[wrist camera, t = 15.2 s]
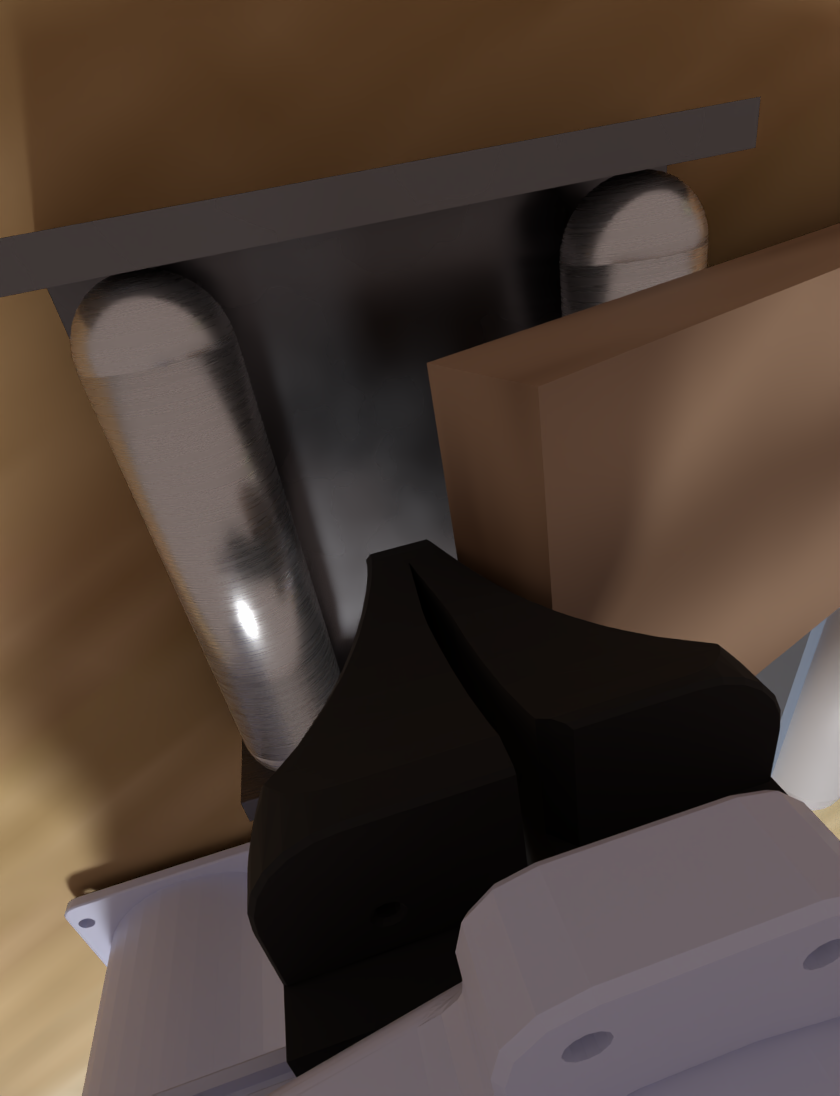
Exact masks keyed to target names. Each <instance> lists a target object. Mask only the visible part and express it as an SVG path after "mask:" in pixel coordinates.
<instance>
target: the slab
mask: <svg viewBox="0 0 840 1096" xmlns="http://www.w3.org/2000/svg"><path fill="white" fill-rule="evenodd" d="M427 369H428V375H429V381H430V388H431V394H432V401H433V407H434V413H435V420H436V426H437V432H438V439H439V445H440V452H441V458H442V464H443V471H444V477H445V483H446V490H447V496H448V502H449V509H450V515H451V522H452V528H453V534H454V541H455V547H456V553H457V560H458V561H459V562H461V563H462V564H464V565H465V566H467V567H468V568H470V569H471V570H473V571H475V572H476V573H478V574H480V575H481V576H483V577H484V578H486V579H488V580H489V581H491V582H493V583H495V584H496V585H498V586H500V587H502V588H504V589H506V590H508V591H510V592H512V593H514V594H516V595H518V596H520V597H522V598H525V599H527V600H529V601H532V602H534V603H537V604H539V605H542V606H544V607H547V608H549V609H552V610H554V611H557V612H560V613H563V614H566V615H569V616H572V617H575V618H579V619H582V620H586V621H589V622H593V623H596V624H600V625H604V626H608V627H612V628H616V629H621V630H625V631H631V632H636V633H641V634H646V635H651V636H657V637H664V638H673V639H681V640H690V641H698V642H707V643H715V644H719V645H720V646H721V647H722V648H724V649H725V650H726V651H727V652H729V653H730V654H731V655H732V656H734V657H735V658H736V659H737V660H738V661H740V662H741V663H742V664H743V665H744V666H745V667H746V668H747V669H748V670H749V671H750V672H751V673H752V674H753V675H755V676H756V675H757V674H758V673H759V672H761V671H762V670H763V669H764V668H766V667H767V666H768V665H769V664H770V663H772V662H773V661H774V660H775V659H777V658H778V657H779V656H780V655H782V654H783V653H784V652H785V651H786V650H788V649H789V648H790V647H791V646H793V645H794V644H795V643H796V642H797V641H799V640H800V639H801V638H802V637H804V636H805V635H806V634H807V633H809V632H810V631H811V630H812V629H813V628H815V627H816V626H817V625H818V624H820V623H821V622H822V621H823V620H825V619H826V618H827V617H828V616H829V615H831V614H832V613H833V612H834V611H836V610H837V609H838V608H839V607H840V223H839V224H836V225H833V226H830V227H827V228H824V229H821V230H818V231H815V232H812V233H809V234H806V235H803V236H800V237H797V238H794V239H791V240H788V241H785V242H783V243H780V244H777V245H774V246H771V247H768V248H765V249H762V250H759V251H756V252H753V253H750V254H747V255H744V256H741V257H738V258H735V259H732V260H729V261H726V262H723V263H721V264H718V265H715V266H712V267H709V268H706V269H703V270H700V271H697V272H694V273H691V274H688V275H685V276H682V277H679V278H676V279H673V280H670V281H667V282H664V283H661V284H658V285H656V286H653V287H650V288H647V289H644V290H641V291H638V292H635V293H632V294H629V295H626V296H623V297H620V298H617V299H614V300H611V301H608V302H605V303H602V304H599V305H596V306H594V307H591V308H588V309H585V310H582V311H579V312H576V313H573V314H570V315H567V316H564V317H561V318H558V319H555V320H552V321H549V322H546V323H543V324H540V325H537V326H534V327H531V328H529V329H526V330H523V331H520V332H517V333H514V334H511V335H508V336H505V337H502V338H499V339H496V340H493V341H490V342H487V343H484V344H481V345H478V346H475V347H472V348H469V349H467V350H464V351H461V352H458V353H455V354H452V355H449V356H446V357H443V358H440V359H437V360H434V361H431V362H428V363H427Z"/></svg>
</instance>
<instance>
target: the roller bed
mask: <svg viewBox="0 0 840 1096" xmlns="http://www.w3.org/2000/svg"><path fill="white" fill-rule="evenodd" d="M759 107H760V97H756V98H750V99H745V100H740V101H734V102H729V103H724V104H718V105H713V106H708V107H702V108H697V109H691V110H686V111H681V112H675V113H670V114H665V115H659V116H654V117H649V118H643V119H638V120H633V121H627V122H622V123H616V124H611V125H606V126H600V127H595V128H590V129H584V130H579V131H574V132H568V133H563V134H557V135H552V136H547V137H541V138H536V139H531V140H525V141H520V142H515V143H509V144H504V145H499V146H493V147H488V148H482V149H477V150H472V151H466V152H461V153H456V154H450V155H445V156H440V157H434V158H429V159H423V160H418V161H413V162H407V163H402V164H397V165H391V166H386V167H381V168H375V169H370V170H365V171H359V172H354V173H348V174H343V175H338V176H332V177H327V178H322V179H316V180H311V181H306V182H300V183H295V184H289V185H284V186H279V187H273V188H268V189H263V190H257V191H252V192H247V193H241V194H236V195H231V196H225V197H220V198H214V199H209V200H204V201H198V202H193V203H188V204H182V205H177V206H172V207H166V208H161V209H155V210H150V211H145V212H139V213H134V214H129V215H123V216H118V217H113V218H107V219H102V220H97V221H91V222H86V223H80V224H75V225H70V226H64V227H59V228H54V229H48V230H43V231H38V232H32V233H27V234H21V235H16V236H11V237H5V238H0V297H4V296H9V295H14V294H19V293H24V292H29V291H34V290H39V289H44V288H47V289H48V291H49V294H50V296H51V298H52V300H53V303H54V305H55V307H56V309H57V312H58V314H59V316H60V318H61V321H62V323H63V325H64V327H65V330H66V332H67V334H68V336H69V339H70V344H71V352H72V358H73V361H74V364H75V367H76V370H77V373H78V376H79V378H80V381H81V383H82V385H83V387H84V389H85V392H86V394H87V396H88V398H89V401H90V403H91V405H92V407H93V409H94V412H95V414H96V416H97V418H98V420H99V423H100V425H101V427H102V429H103V431H104V434H105V436H106V438H107V440H108V443H109V445H110V447H111V449H112V451H113V454H114V456H115V458H116V460H117V462H118V465H119V467H120V469H121V471H122V473H123V476H124V478H125V480H126V482H127V485H128V487H129V489H130V491H131V493H132V496H133V498H134V500H135V502H136V504H137V507H138V509H139V511H140V513H141V515H142V518H143V520H144V522H145V524H146V527H147V529H148V531H149V533H150V535H151V538H152V540H153V542H154V544H155V546H156V549H157V551H158V553H159V555H160V557H161V560H162V562H163V564H164V566H165V569H166V571H167V573H168V575H169V577H170V580H171V582H172V584H173V586H174V588H175V591H176V593H177V595H178V597H179V599H180V602H181V604H182V606H183V608H184V611H185V613H186V615H187V617H188V619H189V622H190V624H191V626H192V628H193V630H194V633H195V635H196V637H197V639H198V641H199V644H200V646H201V648H202V650H203V653H204V655H205V657H206V659H207V661H208V664H209V666H210V668H211V670H212V672H213V675H214V677H215V679H216V681H217V683H218V686H219V688H220V690H221V692H222V695H223V697H224V699H225V701H226V703H227V706H228V708H229V710H230V712H231V714H232V717H233V719H234V721H235V723H236V725H237V728H238V730H239V732H240V734H241V737H242V778H241V804H242V806H243V808H244V810H245V812H246V814H247V816H248V818H249V820H250V821H253V820H254V817H255V812H256V808H257V804H258V799H259V795H260V791H261V788H262V786H263V785H264V784H265V783H266V782H267V781H268V780H269V778H270V777H271V776H272V775H273V774H274V773H275V772H276V771H277V769H278V768H279V767H280V766H281V765H282V764H283V762H284V761H285V760H286V759H287V758H288V757H289V755H290V754H291V753H292V752H293V751H294V749H295V748H296V747H297V745H298V744H299V743H300V741H301V740H302V738H303V737H304V735H305V734H306V732H307V731H308V729H309V728H310V726H311V725H312V723H313V722H314V720H315V719H316V717H317V716H318V714H319V713H320V711H321V710H322V708H323V706H324V705H325V703H326V701H327V699H328V698H329V696H330V694H331V692H332V690H333V688H334V686H335V684H336V682H337V680H338V678H339V676H340V674H341V672H342V670H343V667H344V665H345V663H346V660H347V658H348V655H349V653H350V650H351V647H352V644H353V642H354V639H355V635H356V632H357V628H358V625H359V621H360V618H361V614H362V609H363V604H364V599H365V593H366V586H367V564H366V559H367V558H368V557H369V555H370V554H373V553H377V552H380V551H384V550H388V549H392V548H395V547H399V546H403V545H406V544H410V543H414V542H418V541H421V540H425V539H427V540H429V541H431V542H432V543H434V544H435V545H437V546H438V547H439V548H441V549H442V550H443V551H445V552H446V553H448V554H449V555H450V556H452V557H453V558H455V559H456V560H457V553H456V547H455V541H454V534H453V528H452V522H451V515H450V509H449V502H448V496H447V490H446V483H445V477H444V471H443V464H442V458H441V452H440V445H439V439H438V432H437V426H436V420H435V413H434V407H433V401H432V394H431V388H430V381H429V375H428V369H427V363H428V362H431V361H434V360H437V359H440V358H443V357H446V356H449V355H452V354H455V353H458V352H461V351H464V350H467V349H469V348H472V347H475V346H478V345H481V344H484V343H487V342H490V341H493V340H496V339H499V338H502V337H505V336H508V335H511V334H514V333H517V332H520V331H523V330H526V329H529V328H531V327H534V326H537V325H540V324H543V323H546V322H549V321H552V320H555V319H558V318H561V317H564V316H567V315H570V314H573V313H576V312H579V311H582V310H585V309H588V308H591V307H594V306H596V305H599V304H602V303H605V302H608V301H611V300H614V299H617V298H620V297H623V296H626V295H629V294H632V293H635V292H638V291H641V290H644V289H647V288H650V287H653V286H656V285H658V284H661V283H664V282H667V281H670V280H673V279H676V278H679V277H682V276H685V275H688V274H691V273H694V272H697V271H700V270H703V269H706V268H707V255H708V224H707V219H706V215H705V211H704V209H703V207H702V205H701V203H700V201H699V199H698V197H697V196H696V194H695V193H694V192H693V191H692V190H691V188H690V187H689V186H688V185H687V184H685V183H684V182H683V181H681V180H680V179H678V178H677V177H675V176H673V175H670V174H668V173H667V165H670V164H676V163H681V162H686V161H691V160H696V159H701V158H706V157H711V156H716V155H721V154H726V153H731V152H736V151H741V150H746V149H751V148H755V147H756V137H757V127H758V117H759Z"/></svg>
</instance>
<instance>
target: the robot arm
mask: <svg viewBox="0 0 840 1096" xmlns="http://www.w3.org/2000/svg"><path fill="white" fill-rule="evenodd" d="M366 564H367V586H366V593H365V599H364V604H363V609H362V614H361V618H360V621H359V625H358V628H357V632H356V635H355V639H354V642H353V644H352V647H351V650H350V653H349V655H348V658H347V660H346V663H345V665H344V667H343V670H342V672H341V674H340V676H339V678H338V680H337V682H336V684H335V686H334V688H333V690H332V692H331V694H330V696H329V698H328V699H327V701H326V703H325V705H324V706H323V708H322V710H321V711H320V713H319V714H318V716H317V717H316V719H315V720H314V722H313V723H312V725H311V726H310V728H309V729H308V731H307V732H306V734H305V735H304V737H303V738H302V740H301V741H300V743H299V744H298V745H297V747H296V748H295V749H294V751H293V752H292V753H291V754H290V755H289V757H288V758H287V759H286V760H285V761H284V762H283V764H282V765H281V766H280V767H279V768H278V769H277V771H276V772H275V773H274V774H273V775H272V776H271V777H270V778H269V780H268V781H267V782H266V783H265V784H264V785H263V786H262V788H261V791H260V795H259V799H258V804H257V808H256V812H255V817H254V822H253V828H252V834H251V840H250V842H248V843H245V844H242V845H239V846H236V847H233V848H230V849H226V850H223V851H220V852H217V853H214V854H211V855H208V856H205V857H201V858H198V859H195V860H192V861H189V862H186V863H183V864H180V865H176V866H173V867H170V868H167V869H164V870H161V871H158V872H155V873H151V874H148V875H145V876H142V877H139V878H136V879H133V880H130V881H126V882H123V883H120V884H117V885H114V886H111V887H108V888H105V889H101V890H98V891H95V892H92V893H89V894H86V895H83V896H80V897H77V898H75V899H73V900H71V901H70V902H69V903H68V905H67V908H66V912H65V918H66V920H67V921H68V922H69V923H70V924H71V925H72V927H73V928H74V929H75V930H76V931H77V932H78V934H79V935H80V936H81V937H82V938H83V939H84V941H85V942H86V943H87V944H88V945H89V946H90V948H91V949H92V950H93V951H94V952H95V954H96V955H97V956H98V957H99V958H100V959H101V961H102V962H103V963H104V964H105V965H106V966H107V970H106V975H105V980H104V985H103V990H102V996H101V1001H100V1006H99V1011H98V1016H97V1021H96V1026H95V1031H94V1037H93V1042H92V1047H91V1052H90V1057H89V1062H88V1067H87V1073H86V1078H85V1083H84V1088H83V1093H82V1096H840V840H839V839H838V838H837V837H836V836H835V835H834V834H833V833H832V832H831V831H830V830H829V829H828V828H827V827H826V826H825V825H824V823H823V822H822V821H821V820H820V819H819V818H818V817H817V816H816V815H815V814H814V813H813V812H812V811H811V810H810V809H809V808H808V807H807V805H806V804H805V803H804V802H802V801H800V800H798V799H795V798H793V797H791V796H789V795H788V794H787V793H786V792H785V791H784V790H783V789H782V788H781V787H780V786H779V785H778V784H777V783H776V781H775V780H774V779H773V778H772V777H771V773H772V768H773V763H774V758H775V753H776V748H777V742H778V737H779V732H780V718H781V709H780V707H779V704H778V701H777V699H776V696H775V694H774V693H772V692H771V691H770V690H769V689H768V688H767V687H766V686H765V685H764V684H763V683H762V682H761V681H760V680H759V679H758V678H757V677H756V676H755V675H753V674H752V673H751V672H750V671H749V670H748V669H747V668H746V667H745V666H744V665H743V664H742V663H741V662H740V661H738V660H737V659H736V658H735V657H734V656H732V655H731V654H730V653H729V652H727V651H726V650H725V649H724V648H722V647H721V646H720V645H719V644H715V643H707V642H698V641H690V640H681V639H673V638H664V637H657V636H651V635H646V634H641V633H636V632H631V631H625V630H621V629H616V628H612V627H608V626H604V625H600V624H596V623H593V622H589V621H586V620H582V619H579V618H575V617H572V616H569V615H566V614H563V613H560V612H557V611H554V610H552V609H549V608H547V607H544V606H542V605H539V604H537V603H534V602H532V601H529V600H527V599H525V598H522V597H520V596H518V595H516V594H514V593H512V592H510V591H508V590H506V589H504V588H502V587H500V586H498V585H496V584H495V583H493V582H491V581H489V580H488V579H486V578H484V577H483V576H481V575H480V574H478V573H476V572H475V571H473V570H471V569H470V568H468V567H467V566H465V565H464V564H462V563H461V562H459V561H458V560H456V559H455V558H453V557H452V556H450V555H449V554H448V553H446V552H445V551H443V550H442V549H441V548H439V547H438V546H437V545H435V544H434V543H432V542H431V541H429V540H427V539H425V540H421V541H418V542H414V543H410V544H406V545H403V546H399V547H395V548H392V549H388V550H384V551H380V552H377V553H373V554H370V555H369V557H368V558H367V559H366Z"/></svg>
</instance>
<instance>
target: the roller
mask: <svg viewBox="0 0 840 1096" xmlns="http://www.w3.org/2000/svg"><path fill="white" fill-rule="evenodd" d="M756 677H757V678H758V679H759V680H760V681H761V682H762V683H763V684H764V685H765V686H766V687H767V688H768V689H769V690H770V691H771V692H772V693H774V694H775V696H776V699H777V701H778V704H779V707H780V709H781V718H780V732H779V737H778V742H777V748H776V753H775V758H774V763H773V768H772V773H771V777H772V778H773V779H774V780H775V781H776V783H777V784H778V785H779V786H780V787H781V788H782V789H783V790H784V791H785V792H786V793H787V794H788V795H789V796H791V797H793V798H795V799H798V800H800V801H802V802H804V803H805V804H806V805H807V807H808V808H809V809H810V810H820V809H823V808H826V807H829V806H831V805H832V804H833V803H835V802H836V801H837V800H838V799H839V798H840V607H839V608H838V609H837V610H836V611H834V612H833V613H832V614H831V615H829V616H828V617H827V618H826V619H825V620H823V621H822V622H821V623H820V624H818V625H817V626H816V627H815V628H813V629H812V630H811V631H810V632H809V633H807V634H806V635H805V636H804V637H802V638H801V639H800V640H799V641H797V642H796V643H795V644H794V645H793V646H791V647H790V648H789V649H788V650H786V651H785V652H784V653H783V654H782V655H780V656H779V657H778V658H777V659H775V660H774V661H773V662H772V663H770V664H769V665H768V666H767V667H766V668H764V669H763V670H762V671H761V672H759V673H758V674H757V675H756Z"/></svg>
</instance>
